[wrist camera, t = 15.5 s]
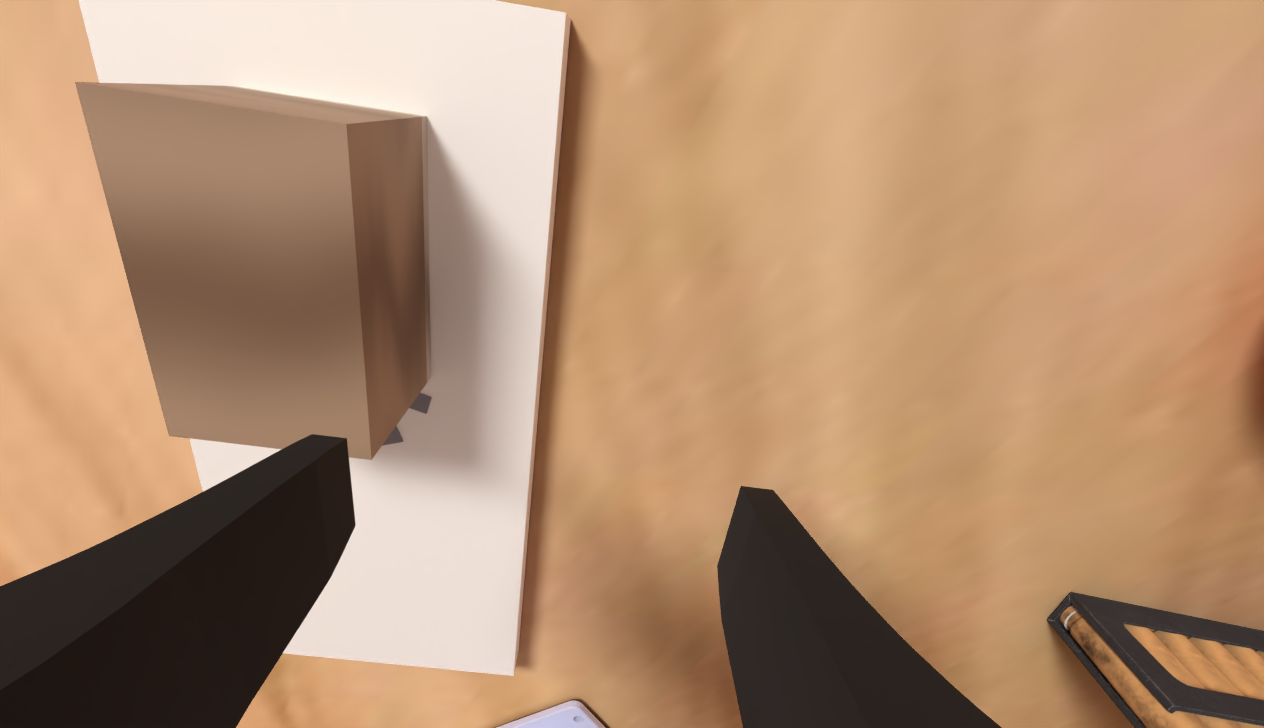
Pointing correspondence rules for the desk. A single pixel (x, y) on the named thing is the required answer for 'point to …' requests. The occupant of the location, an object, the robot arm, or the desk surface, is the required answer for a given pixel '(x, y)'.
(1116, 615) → the ammunition clip
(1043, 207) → the desk surface
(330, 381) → the block
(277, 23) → the plank
